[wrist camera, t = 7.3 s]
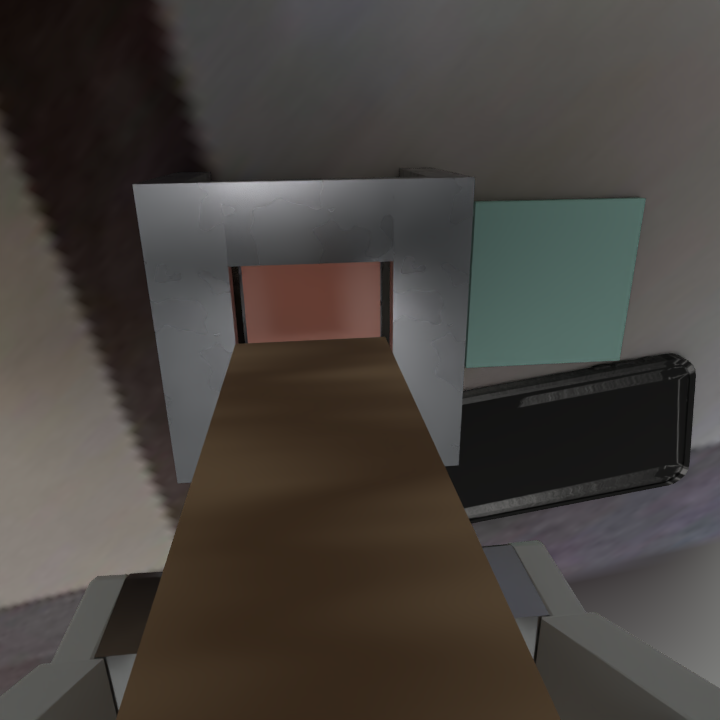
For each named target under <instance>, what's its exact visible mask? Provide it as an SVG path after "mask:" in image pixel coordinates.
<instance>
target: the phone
mask: <svg viewBox="0 0 720 720" xmlns="http://www.w3.org/2000/svg"><path fill="white" fill-rule="evenodd" d="M695 379H696V373H695V368H694V366H693V364H691V363H690V362H689V361H688V360H686V359H684V358H682V357H681V356H679V355H676V354H663V355H658V356H653V357H647V358H642V359H636V360H630V361H624V362H619V363H614V364H606V365H601V366H595V367H593V368H588V369H582V370H577V371H572V372H566V373H561V374H555V375H550V376H545V377H539V378H534V379H528V380H523V381H518V382H512V383H507V384H501V385H496V386H491V387H485V388H480V389H474V390H469V391H463V397H462V415H461V432H460V450H459V465H457V466H445V468H446V470H447V472H448V475H449V477H450V479H451V481H452V483H453V486H454V488H455V490H456V492H457V494H458V496H459V499H460V501H461V503H462V505H463V507H464V509H465V512H466V514H467V516H468V518H469V520H470V523H476V522H481V521H486V520H491V519H496V518H502V517H507V516H512V515H517V514H522V513H527V512H533V511H538V510H543V509H548V508H553V507H558V506H564V505H569V504H574V503H579V502H584V501H590V500H595V499H600V498H605V497H610V496H615V495H621V494H626V493H631V492H636V491H641V490H646V489H652V488H657V487H662V486H667V485H671V484H674V483H676V482H677V481H679V480H680V479H681V478H682V477H683V476H684V475H685V474H686V472H687V470H688V468H689V462H690V448H691V435H692V421H693V407H694V393H695Z"/></svg>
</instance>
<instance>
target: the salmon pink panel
mask: <svg viewBox="0 0 720 720" xmlns="http://www.w3.org/2000/svg"><path fill="white" fill-rule="evenodd" d="M241 271H242V282H243V293H244V304H245V316H246V327H247V338H248V343H265V342H286V341H306V340H327V339H348V338H369V337H380V262H357V263H326V264H295V265H264V266H241Z"/></svg>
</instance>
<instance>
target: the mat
mask: <svg viewBox="0 0 720 720" xmlns="http://www.w3.org/2000/svg"><path fill="white" fill-rule="evenodd" d="M645 200H646V198H640V197H638V198H596V199H554V200H512V201H474V205H473V222H472V240H471V257H470V275H469V292H468V310H467V327H466V345H465V362H464V366H465V367H466V368H473V367H493V366H514V365H534V364H555V363H575V362H596V361H616V360H620V354H621V348H622V341H623V335H624V329H625V323H626V317H627V311H628V305H629V298H630V292H631V286H632V280H633V274H634V268H635V262H636V255H637V249H638V243H639V237H640V231H641V225H642V219H643V212H644V206H645Z"/></svg>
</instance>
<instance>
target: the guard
mask: <svg viewBox="0 0 720 720" xmlns="http://www.w3.org/2000/svg"><path fill="white" fill-rule="evenodd" d="M474 187H475V177H471V176H467V175H462V174H457V173H453V172H448V171H444V170H439V169H435V168H399V177H390V178H340V179H291V180H241V181H212V178H211V172H177V173H173V174H170V175H166V176H162V177H158V178H154V179H151V180H147V181H143V182H139V183H136V184H133V191H134V198H135V204H136V211H137V217H138V224H139V231H140V237H141V244H142V250H143V257H144V264H145V270H146V277H147V283H148V290H149V297H150V303H151V310H152V317H153V323H154V330H155V336H156V343H157V350H158V356H159V363H160V369H161V376H162V383H163V389H164V396H165V402H166V409H167V416H168V422H169V429H170V435H171V442H172V449H173V455H174V462H175V468H176V475H177V482H178V483H188V482H192V479H193V476H194V473H195V469H196V466H197V463H198V460H199V457H200V454H201V451H202V447H203V444H204V441H205V438H206V435H207V432H208V429H209V425H210V422H211V419H212V416H213V413H214V410H215V407H216V403H217V400H218V397H219V394H220V391H221V388H222V385H223V381H224V378H225V375H226V372H227V369H228V366H229V363H230V359H231V356H232V353H233V350H234V347H235V344H239V342H238V332H237V321H236V311H235V300H234V290H233V280H232V269H231V267H234V266H238V272H239V283H240V294H241V305H242V316H243V327H244V338H245V343H248V338H247V327H246V316H245V304H244V293H243V282H242V271H241V266H264V265H295V264H326V263H357V262H380V337H382V262H388V261H390V348H391V350H392V353H393V355H394V357H395V359H396V361H397V363H398V366H399V368H400V370H401V372H402V374H403V377H404V379H405V381H406V383H407V385H408V387H409V390H410V392H411V394H412V396H413V398H414V401H415V403H416V405H417V407H418V409H419V411H420V414H421V416H422V418H423V420H424V422H425V424H426V427H427V429H428V431H429V433H430V435H431V438H432V440H433V442H434V444H435V446H436V448H437V451H438V453H439V455H440V457H441V459H442V462H443V464H444V466H457V465H459V450H460V432H461V415H462V397H463V380H464V362H465V345H466V327H467V310H468V292H469V275H470V257H471V240H472V222H473V205H474Z"/></svg>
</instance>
